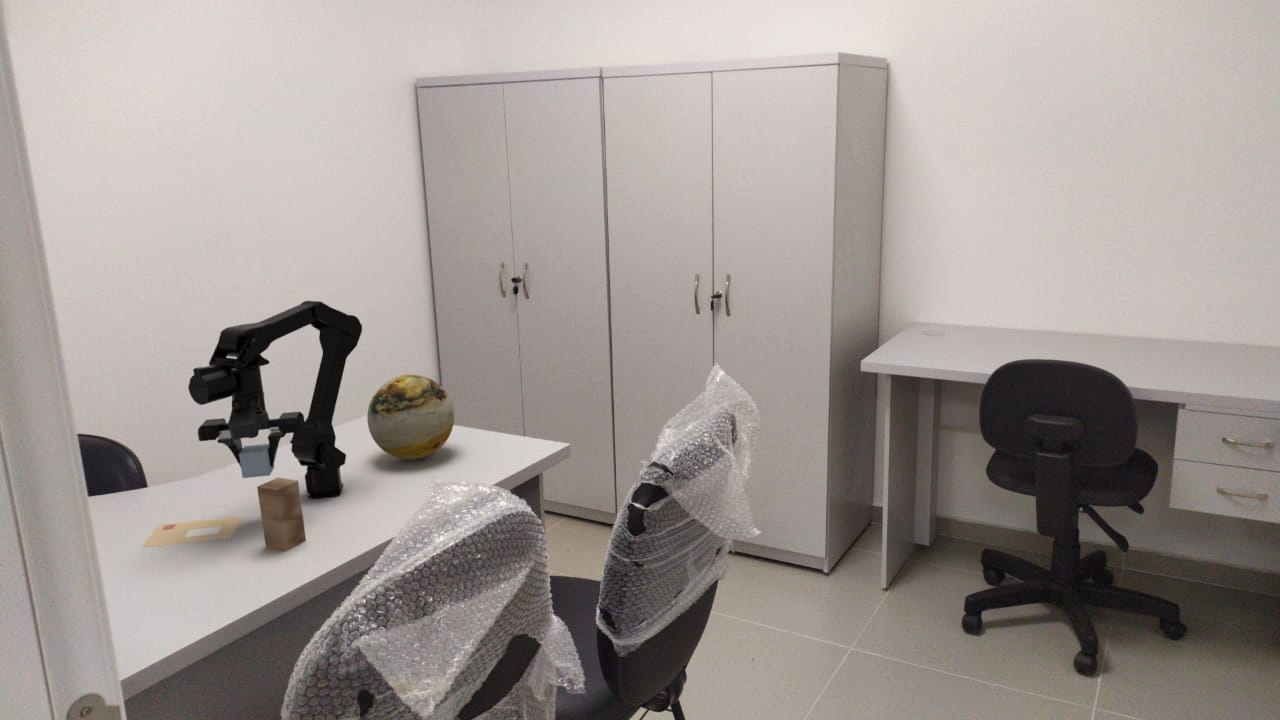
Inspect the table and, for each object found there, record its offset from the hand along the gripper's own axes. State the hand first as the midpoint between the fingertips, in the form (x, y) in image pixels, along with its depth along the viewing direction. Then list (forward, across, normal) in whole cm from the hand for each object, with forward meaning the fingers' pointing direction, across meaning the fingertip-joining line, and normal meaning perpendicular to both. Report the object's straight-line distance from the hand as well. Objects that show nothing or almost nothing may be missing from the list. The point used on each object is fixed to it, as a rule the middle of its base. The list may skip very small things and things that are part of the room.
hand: (258, 467), depth 182 cm
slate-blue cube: (+1, 0, 0) cm, 1 cm away
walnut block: (+11, +6, -14) cm, 19 cm away
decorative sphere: (+11, +28, +30) cm, 43 cm away
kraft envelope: (+11, -13, -2) cm, 17 cm away
